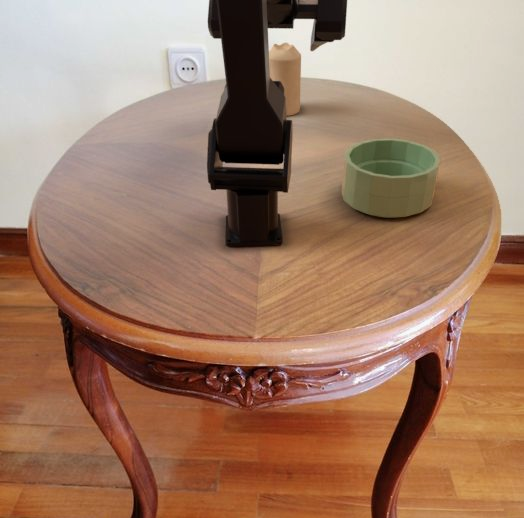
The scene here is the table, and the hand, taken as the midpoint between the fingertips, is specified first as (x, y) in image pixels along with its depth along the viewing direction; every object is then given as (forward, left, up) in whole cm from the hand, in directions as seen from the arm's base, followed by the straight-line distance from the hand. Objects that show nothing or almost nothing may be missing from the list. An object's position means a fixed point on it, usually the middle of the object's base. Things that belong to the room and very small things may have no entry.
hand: (281, 47), depth 89 cm
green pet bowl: (-29, -12, -10) cm, 33 cm away
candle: (+3, -1, -11) cm, 11 cm away
